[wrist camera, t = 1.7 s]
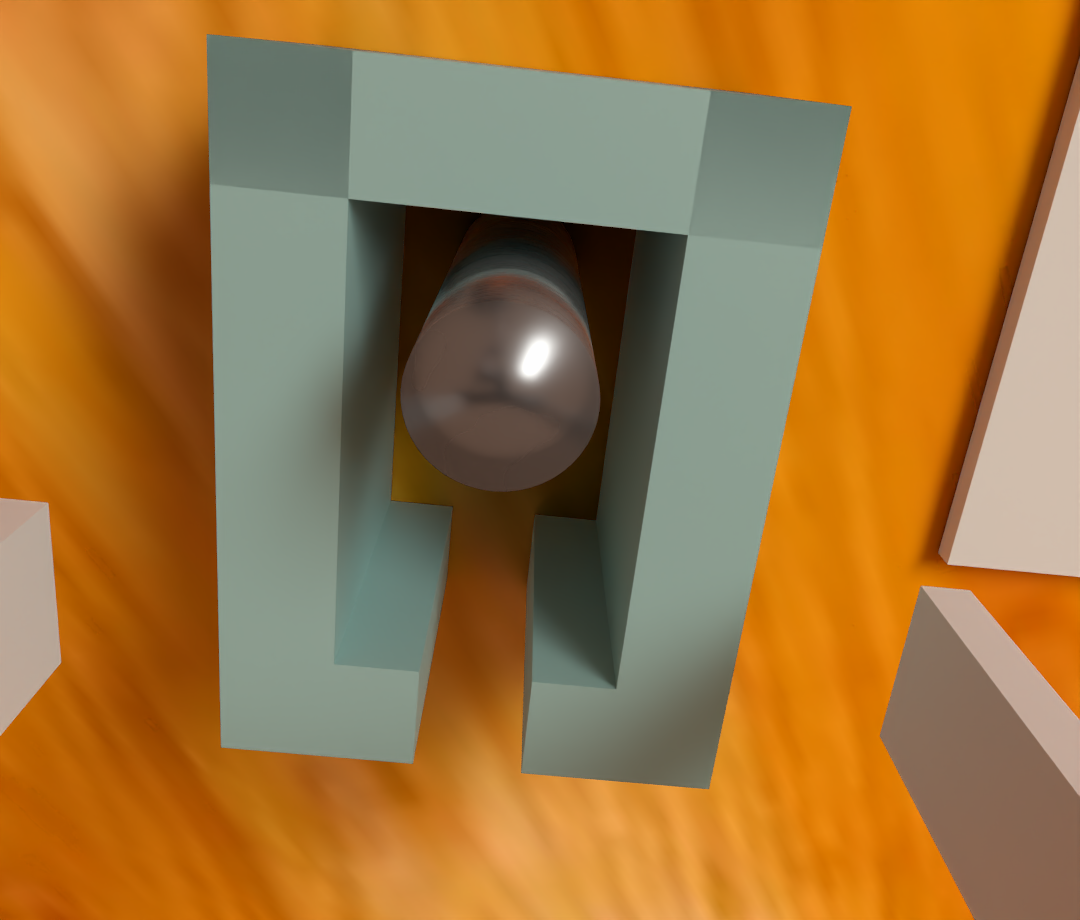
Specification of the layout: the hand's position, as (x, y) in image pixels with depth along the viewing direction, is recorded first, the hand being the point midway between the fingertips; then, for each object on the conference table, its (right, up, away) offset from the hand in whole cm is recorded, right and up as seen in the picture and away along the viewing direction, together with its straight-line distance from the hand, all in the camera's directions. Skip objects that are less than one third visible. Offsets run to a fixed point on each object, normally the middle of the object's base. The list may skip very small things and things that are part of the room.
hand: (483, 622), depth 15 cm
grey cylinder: (0, +7, +7) cm, 9 cm away
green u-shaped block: (0, +5, +7) cm, 9 cm away
